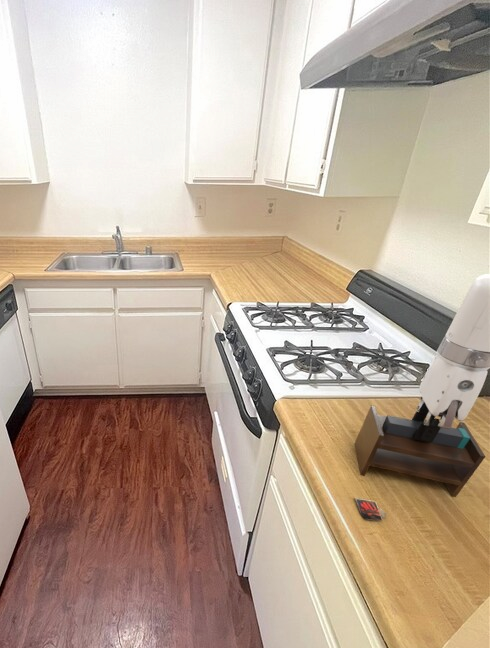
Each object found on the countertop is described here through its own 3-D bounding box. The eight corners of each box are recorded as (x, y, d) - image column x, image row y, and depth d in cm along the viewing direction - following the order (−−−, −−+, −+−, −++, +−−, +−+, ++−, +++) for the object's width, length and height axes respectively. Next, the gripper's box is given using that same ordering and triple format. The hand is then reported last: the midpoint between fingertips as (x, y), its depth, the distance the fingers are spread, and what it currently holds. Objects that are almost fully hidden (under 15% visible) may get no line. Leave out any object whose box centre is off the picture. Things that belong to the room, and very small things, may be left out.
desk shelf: (439, 461, 75) (464, 422, 69) (455, 497, 67) (485, 456, 61) (354, 443, 79) (371, 405, 73) (360, 475, 71) (379, 435, 65)
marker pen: (457, 439, 67) (464, 428, 66) (462, 449, 65) (470, 438, 64) (382, 424, 71) (387, 414, 69) (385, 433, 69) (390, 422, 67)
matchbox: (365, 522, 62) (366, 520, 62) (350, 498, 66) (350, 497, 66) (389, 520, 62) (390, 519, 62) (373, 497, 66) (373, 495, 66)
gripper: (517, 380, 50) (456, 468, 61) (473, 336, 63) (428, 414, 73) (458, 371, 52) (408, 458, 62) (427, 329, 65) (389, 407, 75)
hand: (419, 434), depth 68 cm, fingers closed on marker pen, 2 cm apart
